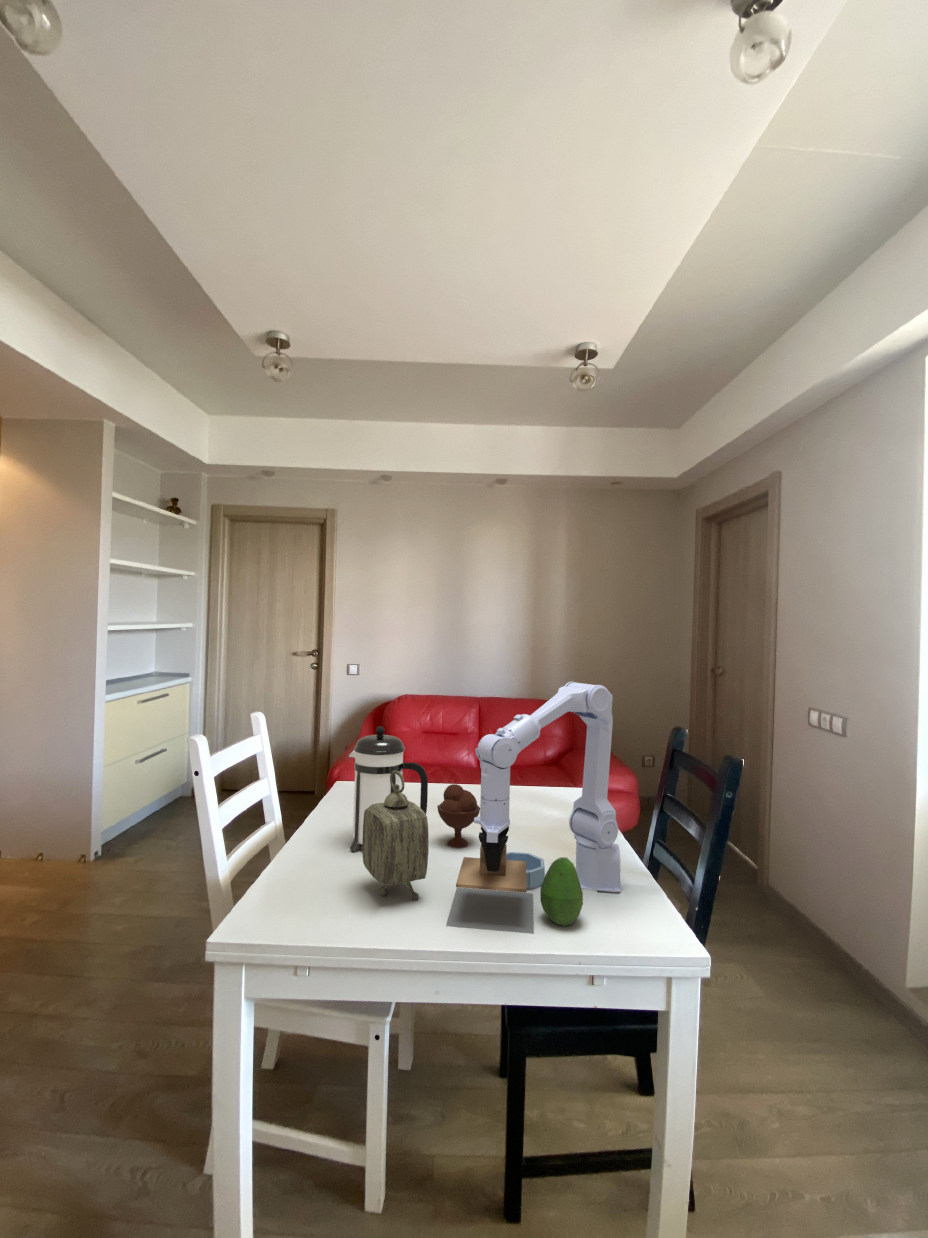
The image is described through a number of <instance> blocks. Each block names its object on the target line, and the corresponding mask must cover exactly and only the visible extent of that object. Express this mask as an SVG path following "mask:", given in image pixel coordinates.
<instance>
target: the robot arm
mask: <svg viewBox="0 0 928 1238" xmlns="http://www.w3.org/2000/svg"><path fill="white" fill-rule="evenodd" d="M557 690H558V691H557V693H555V695H553V696H552V697H551V698H550V699H549V700H548V701H546V702H545V703H544V704H542V705H541V706H540V707H539V708H538V709H536V710H535V711H534V712H533V713H531V714H525V713H522V714H516V715H515V716H514V717H513V720H512V721H511V722H509V723H508V724H506V725H505V726H503V727H499V728H498V729H496V732H495V733H494V734H493V733H491V734H490V733H488V734H486V735H484V736H483V737H481V739H480V740H479V742H478V744H477V747H476V748H475V755H476V757H477V759H478V760H479V764H480V766H479V767H480V802H479V803H480V805H479V807H480V812H479V816H478V817H475V818H474V822H473V823H474V824H477V825H479V826H480V830H481V831H479V832H478V840H479V842H480V845H481V844H482V847H483V850H484V854H485V861H486V867H487V871H494V872H498V870H499V866H500V861H501V856H502V852H503V849H504V846H505V844H507V843H508V840H509V835H507V834H508V832H510V831H509V830H510V825H511V820H510V800H511V799H510V796H511V795H510V793H511V791H510V790H511V766H513V765H514V763H515V762H516V760H517V757H518V754H520V753H521V751H522V750H524V749H525V748H526V747H529V745H530V744H532V743H533V742H535V741H536V740H537V739H539V738H540V735H541V730H542V728H545V727H546V726H548V725H549V724H550V723H552V722H554V721H555V720H557V719H559V718H560V717H562V716H563V715H565V714H567V713H568V712H571V713H574V714H575V715H577V716H578V717H580V718H579V719H581V720H582V722H584V723H585V725H586V735H585V736H586V738H585V750H584V752H585V753H584V765H583V778H582V787H581V788H582V791H581V796H580V797H578V798H577V799H576V800H574V801H573V808H572V811H571V813H570V815H569V818H568V819H569V820H568V825H569V830H570V831H571V832H572V833H573V838H574V839H575V844H576V845H575V869H576V872H577V875H578V879H579V882H580V885H581V889H582V890H589V891H597V892H607V893H621V849H620V846H619V844H618V843H615V841H616V840H617V837H618V834H619V824H618V822H617V811H616V810H615V808H614V807H613V805H612V804H611V803H610V801H609V799H608V794H609V793H608V792H609V791H608V790H609V778H610V764H611V763H610V762H611V751H612V750H611V749H612V739H613V738H612V737H613V724H614V721H613V720H614V718H613V713H612V710H613V709H612V708H613V698H614V697H613V694H612V693H611V692H610V691H609V690H608V688H607V687H606V686H604V685H602V684H589V683H582V682H581V683H580V682H577V681H569V682H567V683H565V685H564V686H560V687H559V688H558V689H557Z"/></svg>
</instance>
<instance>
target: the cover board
mask: <svg viewBox="0 0 928 1238" xmlns="http://www.w3.org/2000/svg"><path fill="white" fill-rule="evenodd" d="M479 849H480V850H479V851H480V852H479V857H470V856H467V857H466V856H464V857H463V858H462V861H461V865H460V869H459V872H458V876H457V878H456V882H455V888H470V889H483V890H495V891H508V892H521V893H527V889H526V861H514V860H506V853H507V843H506V844H505V846H504V849H503V852H502V856H501V861H500V866H499V870H498V872H494V871H487V867H486V861H485V854H484V850H483V847H482V844H481V843H480V848H479Z"/></svg>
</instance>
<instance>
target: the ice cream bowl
mask: <svg viewBox="0 0 928 1238" xmlns="http://www.w3.org/2000/svg"><path fill="white" fill-rule="evenodd" d="M442 797H443V801H442V802H441V803H440V804H438V805H437V812H438V815H439V817H440V819H441V820H442V821H443V822H444V823H445V825H446V826H448V827H450V828H452V829H453V830H454V836H453V837H451V838H450V839H449V840H447V843H446V844H447V846H448V847H450V846H451V848H454V849H455V848H456V849H461V848H465V847H466V848H467V846H468V845H469V842H468V841H467V840H466V839H465V837H462V830H463V829H465V828H468V827H469V826H470V825H472V824H473V823H474V818H475V817H479V816H480V805H478V801H477V799H476V798H477V797H476V796H474V794H473V793H472V792H471V791H469V790H467V789H464V788H463V786H461V785H459V784H458V783H457V784H454V783H452V784H450V785H447V787H446V788H445V789H444V791H443V796H442Z"/></svg>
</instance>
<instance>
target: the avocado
mask: <svg viewBox="0 0 928 1238" xmlns="http://www.w3.org/2000/svg"><path fill="white" fill-rule="evenodd" d="M545 873H546V874H545V877H544V881H543V883H542V885H541V886H540V892H539V893H540V895H539V896H540V900H539V901H540V903H541V906H542V910H543V912H544V913H545V914H546V916H547V917H548V918H549V919H550V920H551V921H552V922H553V923H555V924H556V925H561V926H564V927H565V926H569V925H572V924H573V923H575V922H576V921H577V920H578V918H579V916H580V913H581V910H582V909H583V905H584V898H583V897H584V894H583V889H581V885H580V882H579V879H578V875H577V872H576V865H574V863H573V862H572V861H571V860H570V859H569V858H568V857H558V858H557V859H555V860H553V862H552V863H551V864H550V866H549V868H548V869H547V871H546V872H545Z"/></svg>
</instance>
